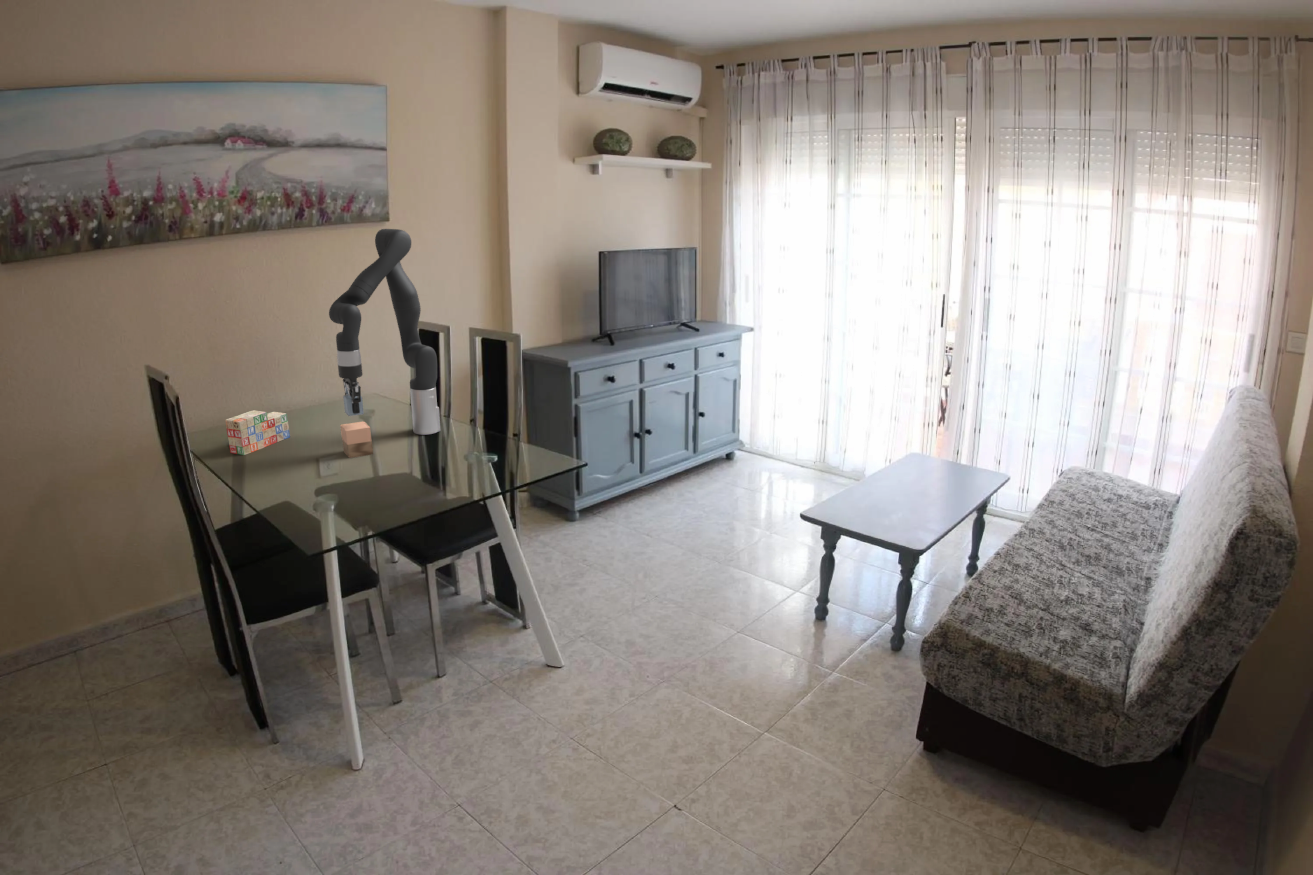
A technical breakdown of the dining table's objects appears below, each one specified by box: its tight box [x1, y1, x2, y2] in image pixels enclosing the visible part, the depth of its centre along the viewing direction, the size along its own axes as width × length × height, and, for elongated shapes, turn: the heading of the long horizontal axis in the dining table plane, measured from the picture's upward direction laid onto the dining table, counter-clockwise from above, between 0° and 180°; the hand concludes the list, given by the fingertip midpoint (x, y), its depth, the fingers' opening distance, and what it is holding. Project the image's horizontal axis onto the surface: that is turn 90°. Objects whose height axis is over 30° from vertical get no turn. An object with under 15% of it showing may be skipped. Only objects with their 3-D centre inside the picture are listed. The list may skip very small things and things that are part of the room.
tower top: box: [340, 421, 372, 445], centre depth 278 cm, size 8×8×5 cm
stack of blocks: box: [225, 409, 291, 456], centre depth 284 cm, size 21×6×12 cm, turn 160°
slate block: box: [342, 394, 365, 417], centre depth 275 cm, size 5×5×6 cm
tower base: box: [341, 438, 374, 459], centre depth 280 cm, size 8×8×5 cm
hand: (354, 411), depth 276 cm, fingers closed on slate block, 5 cm apart
